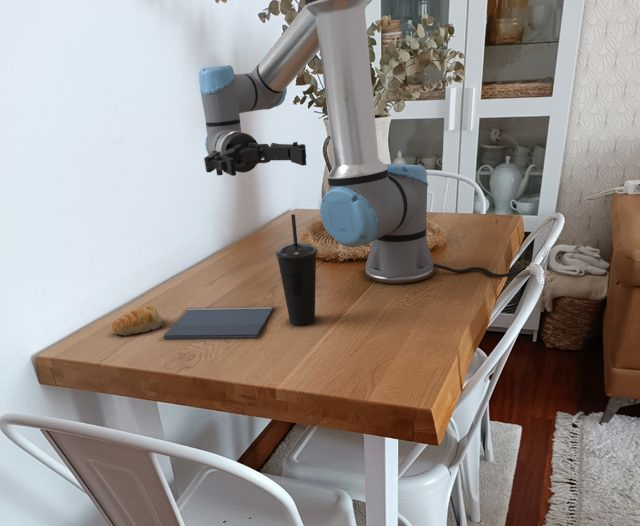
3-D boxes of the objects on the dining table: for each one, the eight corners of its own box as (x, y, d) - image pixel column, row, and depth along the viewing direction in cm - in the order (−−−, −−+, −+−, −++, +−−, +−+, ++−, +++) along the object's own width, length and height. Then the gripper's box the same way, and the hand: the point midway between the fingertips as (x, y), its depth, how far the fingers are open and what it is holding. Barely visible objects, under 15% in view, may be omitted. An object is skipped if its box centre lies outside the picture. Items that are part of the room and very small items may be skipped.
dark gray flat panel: (273, 308, 126) (273, 305, 126) (257, 338, 114) (256, 334, 113) (189, 310, 129) (188, 306, 129) (164, 339, 117) (163, 335, 116)
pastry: (121, 340, 117) (116, 321, 115) (107, 331, 122) (102, 313, 120) (165, 326, 122) (161, 308, 120) (151, 318, 127) (146, 300, 125)
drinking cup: (330, 320, 119) (323, 213, 108) (298, 332, 115) (288, 222, 104) (306, 311, 124) (297, 207, 113) (275, 321, 120) (263, 216, 110)
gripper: (295, 162, 135) (333, 174, 118) (182, 178, 128) (205, 194, 111) (291, 124, 131) (330, 131, 114) (175, 139, 124) (198, 148, 107)
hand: (269, 162), depth 113 cm, fingers open, 13 cm apart
